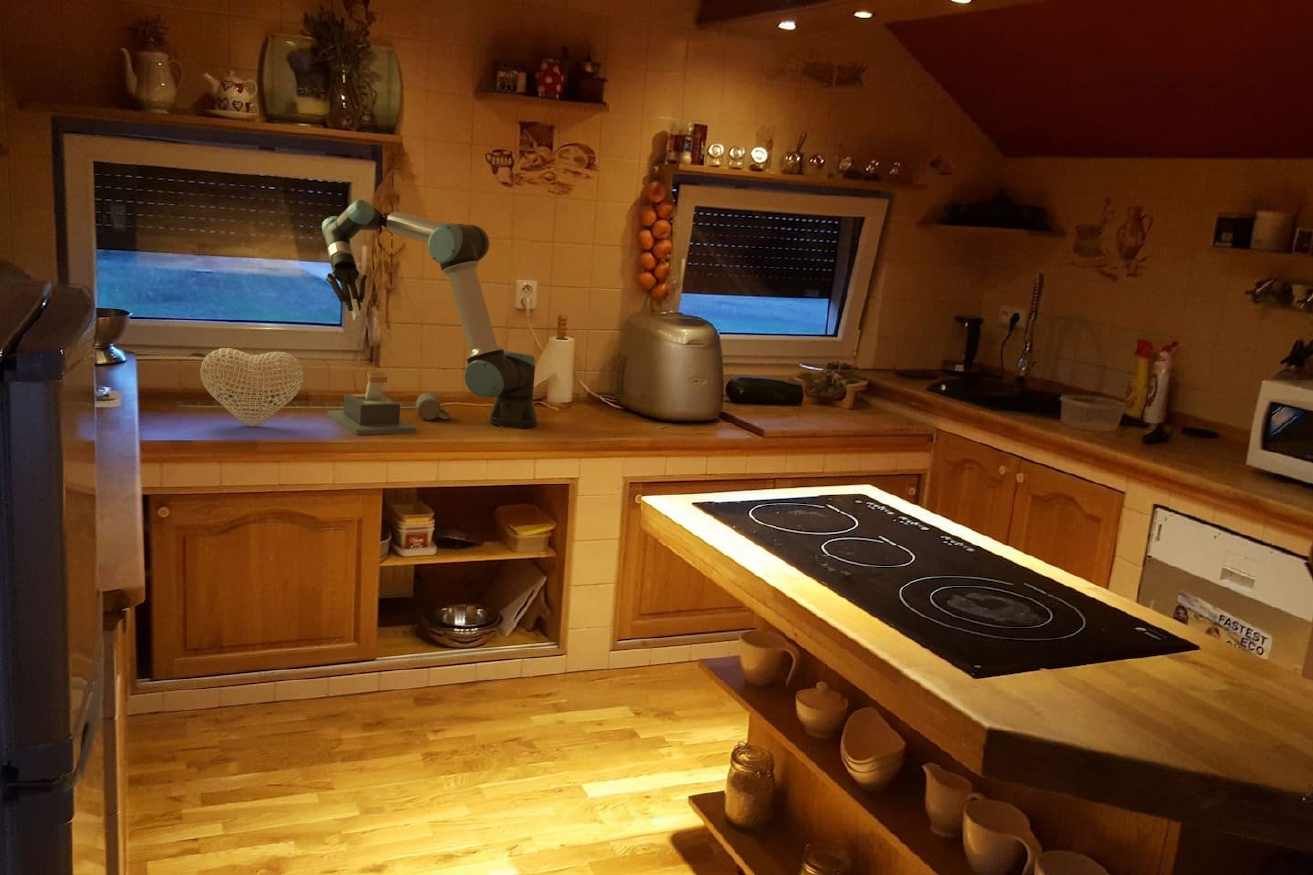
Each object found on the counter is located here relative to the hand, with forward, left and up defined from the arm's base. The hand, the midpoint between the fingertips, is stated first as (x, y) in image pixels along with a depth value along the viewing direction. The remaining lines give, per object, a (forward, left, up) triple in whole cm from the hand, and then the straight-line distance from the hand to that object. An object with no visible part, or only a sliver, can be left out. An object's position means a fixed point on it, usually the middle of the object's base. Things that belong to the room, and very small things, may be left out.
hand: (357, 318), depth 339 cm
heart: (+21, +30, -30) cm, 48 cm away
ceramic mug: (-24, -2, -30) cm, 39 cm away
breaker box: (-9, +13, -30) cm, 34 cm away
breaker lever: (-9, +13, -23) cm, 28 cm away
